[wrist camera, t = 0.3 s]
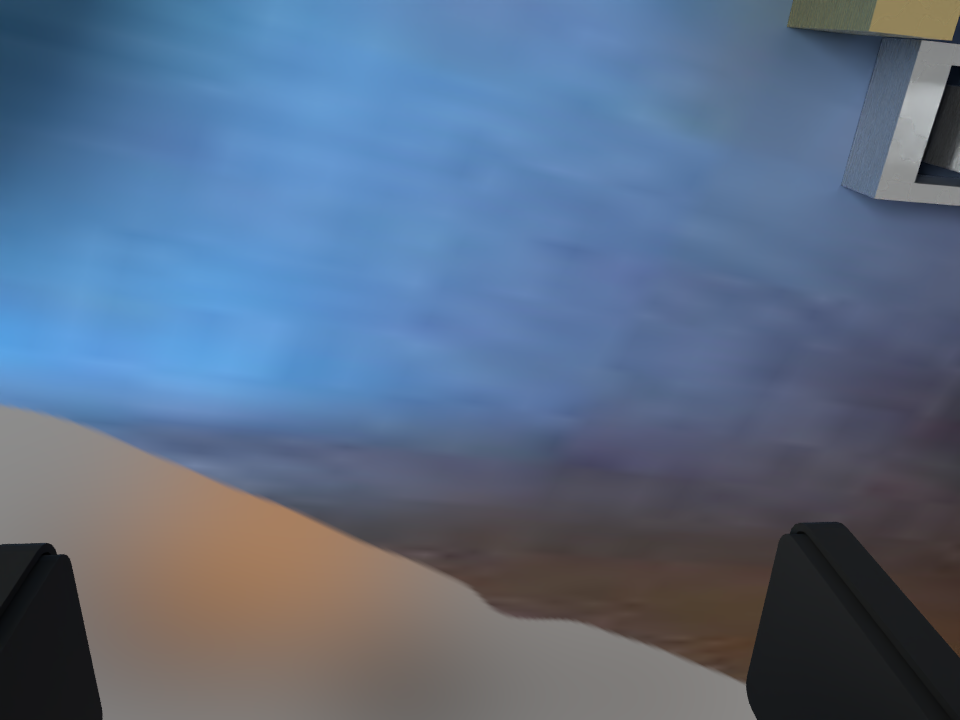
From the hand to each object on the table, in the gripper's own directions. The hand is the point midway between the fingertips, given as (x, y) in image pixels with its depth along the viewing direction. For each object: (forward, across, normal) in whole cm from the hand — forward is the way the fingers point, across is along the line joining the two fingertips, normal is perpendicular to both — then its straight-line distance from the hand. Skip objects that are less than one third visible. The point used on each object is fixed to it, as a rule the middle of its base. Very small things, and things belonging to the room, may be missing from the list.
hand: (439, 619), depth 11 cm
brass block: (+36, -22, -9) cm, 43 cm away
